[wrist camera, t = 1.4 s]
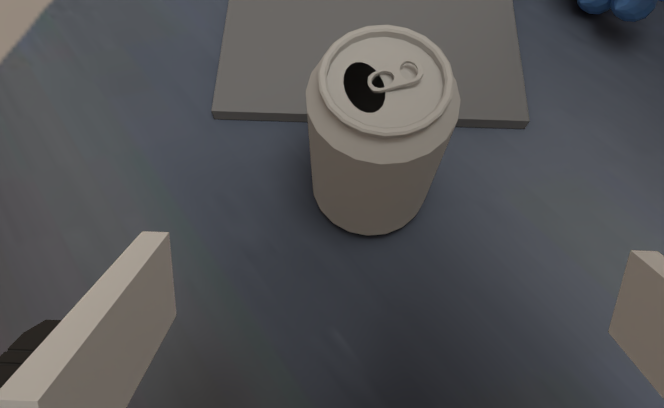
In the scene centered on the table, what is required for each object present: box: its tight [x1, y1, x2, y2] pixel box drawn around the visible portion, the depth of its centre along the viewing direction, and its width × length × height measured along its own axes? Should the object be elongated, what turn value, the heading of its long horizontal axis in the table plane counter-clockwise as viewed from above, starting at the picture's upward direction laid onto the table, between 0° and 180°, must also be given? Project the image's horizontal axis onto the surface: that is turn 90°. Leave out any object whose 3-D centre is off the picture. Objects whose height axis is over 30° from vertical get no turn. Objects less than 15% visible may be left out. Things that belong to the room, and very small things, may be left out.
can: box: [306, 25, 461, 236], centre depth 28 cm, size 8×8×12 cm
